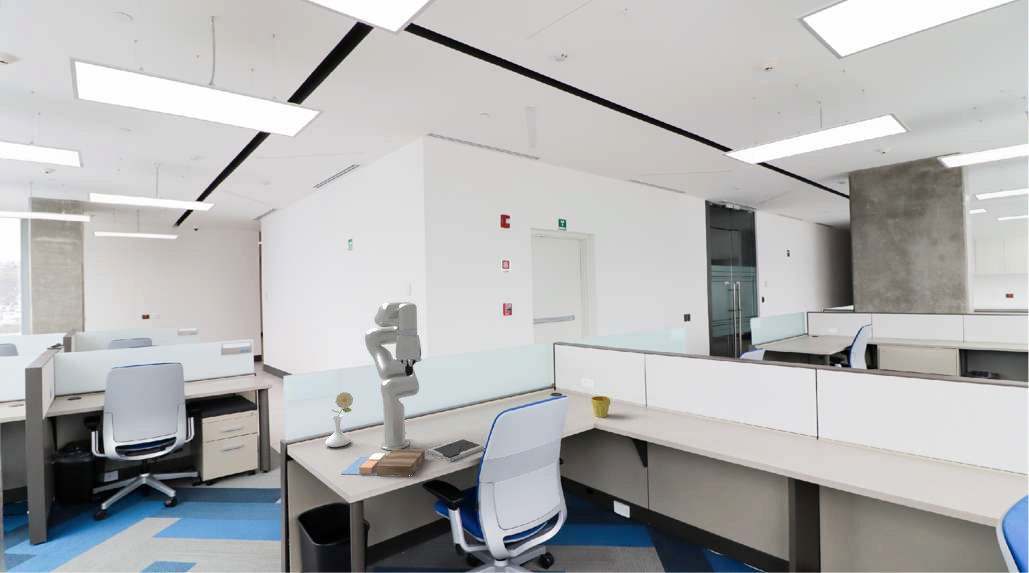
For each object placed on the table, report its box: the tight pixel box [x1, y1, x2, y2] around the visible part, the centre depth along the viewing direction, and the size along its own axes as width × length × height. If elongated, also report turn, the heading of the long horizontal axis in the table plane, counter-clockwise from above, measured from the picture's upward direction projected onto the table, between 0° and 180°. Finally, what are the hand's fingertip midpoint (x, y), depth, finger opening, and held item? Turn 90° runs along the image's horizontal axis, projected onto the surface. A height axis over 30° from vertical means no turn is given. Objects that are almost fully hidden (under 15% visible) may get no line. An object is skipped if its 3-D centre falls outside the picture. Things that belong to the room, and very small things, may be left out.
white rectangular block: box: [368, 452, 387, 464], centre depth 204 cm, size 7×5×2 cm
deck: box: [376, 448, 426, 477], centre depth 199 cm, size 18×14×4 cm
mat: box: [341, 456, 378, 476], centre depth 201 cm, size 18×15×1 cm
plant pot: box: [590, 395, 611, 418], centre depth 265 cm, size 10×10×10 cm
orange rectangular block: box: [359, 461, 378, 474], centre depth 196 cm, size 7×5×2 cm
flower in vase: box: [325, 391, 354, 448], centre depth 227 cm, size 13×11×25 cm
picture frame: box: [426, 437, 486, 462], centre depth 216 cm, size 16×3×21 cm
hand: (409, 375), depth 206 cm, fingers closed
